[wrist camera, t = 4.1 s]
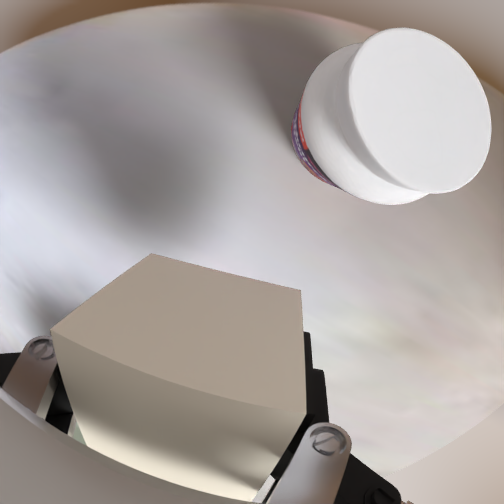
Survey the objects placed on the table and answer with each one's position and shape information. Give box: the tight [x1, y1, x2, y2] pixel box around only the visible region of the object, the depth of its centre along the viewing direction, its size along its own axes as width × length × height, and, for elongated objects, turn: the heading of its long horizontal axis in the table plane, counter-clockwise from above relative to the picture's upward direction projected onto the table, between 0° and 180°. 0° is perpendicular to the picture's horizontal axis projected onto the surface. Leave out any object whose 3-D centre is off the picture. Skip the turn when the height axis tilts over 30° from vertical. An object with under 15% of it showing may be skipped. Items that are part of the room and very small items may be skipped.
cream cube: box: [50, 253, 306, 502], centre depth 8 cm, size 6×6×6 cm
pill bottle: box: [291, 28, 491, 205], centre depth 9 cm, size 5×5×10 cm
